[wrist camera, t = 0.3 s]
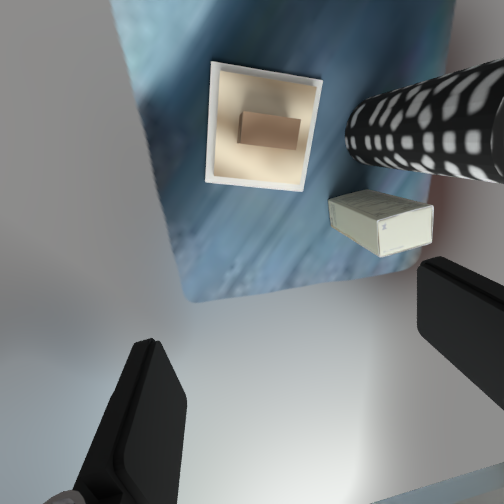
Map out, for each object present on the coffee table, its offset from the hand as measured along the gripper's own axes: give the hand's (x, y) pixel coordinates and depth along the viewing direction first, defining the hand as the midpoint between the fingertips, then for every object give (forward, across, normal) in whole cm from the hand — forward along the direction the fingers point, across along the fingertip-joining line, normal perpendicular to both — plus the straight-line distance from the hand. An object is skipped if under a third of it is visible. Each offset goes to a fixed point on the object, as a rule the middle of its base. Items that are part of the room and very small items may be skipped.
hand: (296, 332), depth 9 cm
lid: (+28, -5, -7) cm, 29 cm away
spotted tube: (+28, -20, -4) cm, 35 cm away
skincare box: (+29, -16, +6) cm, 33 cm away
